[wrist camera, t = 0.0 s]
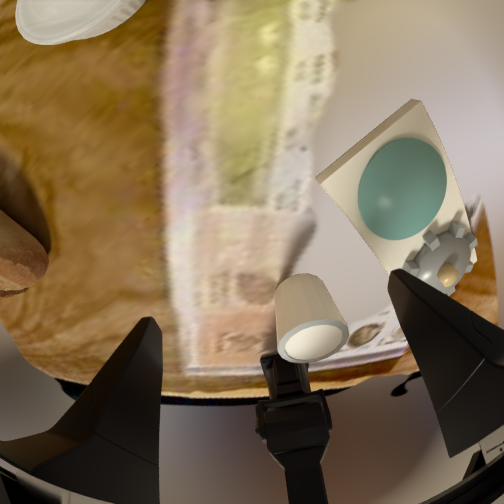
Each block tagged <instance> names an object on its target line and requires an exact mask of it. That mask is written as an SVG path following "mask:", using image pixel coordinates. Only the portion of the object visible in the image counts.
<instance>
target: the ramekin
mask: <svg viewBox="0 0 504 504" xmlns="http://www.w3.org/2000/svg"><path fill="white" fill-rule="evenodd" d="M145 1H146V0H18V1H17V6H16V25H17V27H18V30H19V32H20V33H21V35H22V36H23V37H24V38H25V39H26V40H28V41H30V42H32V43H35V44H42V45H54V44H60V43H65V42H68V41H71V40H79V39H87V38H90V37H95V36H97V35H101V34H103V33H105V32H108V31H110V30H112V29H114V28H116V27H117V26H118V25H120V24H122V23H123V22H125V21H126V20H127V19H128V18H130V17H131V16H132V15H133V14H134V13H135V12H136V11H137V10H138V9H139V8H140V7H141V6H142V5H143V4H144V2H145Z"/></svg>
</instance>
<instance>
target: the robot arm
mask: <svg viewBox="0 0 504 504" xmlns="http://www.w3.org/2000/svg"><path fill="white" fill-rule="evenodd" d="M388 293H389V295H390V298H391V301H392V304H393V306H394V309H395V312H396V315H397V318H398V321H399V323H400V326H401V328H402V331H403V333H404V335H405V337H406V339H407V341H408V344H409V346H410V348H411V351H412V353H413V355H414V358H415V360H416V362H417V365H418V367H419V370H420V372H421V374H422V377H423V380H424V382H425V385H426V387H427V390H428V393H429V395H430V398H431V400H432V403H433V406H434V409H435V412H436V415H437V418H438V421H439V425H440V427H441V431H442V434H443V437H444V441H445V444H446V448H447V451H448V455H449V457H450V458H452V457H454V456H455V455H457V454H459V453H461V452H463V451H464V450H466V449H468V448H470V447H471V446H473V445H475V444H476V443H478V442H479V445H480V448H481V449H480V450H478V451H477V452H476V453H474V454H473V456H472V458H471V461H470V464H469V466H468V468H467V470H466V473H465V475H464V477H463V479H462V481H461V482H459V483H457V484H456V485H454V486H452V487H450V488H449V489H447V490H445V491H443V492H442V493H440V494H438V495H436V496H434V497H432V498H430V499H428V500H426V501H424V502H422V503H420V504H504V330H503V329H501V328H500V327H498V326H496V325H494V324H492V323H491V322H489V321H487V320H486V319H484V318H482V317H481V316H479V315H478V314H476V313H474V312H473V311H471V310H469V309H468V308H467V307H465V306H463V305H462V304H460V303H459V302H457V301H455V300H454V299H452V298H451V297H449V296H447V295H446V294H444V293H442V292H441V291H439V290H437V289H436V288H434V287H432V286H431V285H429V284H427V283H426V282H424V281H422V280H421V279H419V278H417V277H415V276H414V275H412V274H410V273H408V272H407V271H405V270H403V269H401V268H399V269H395V270H392V271H391V272H390V276H389V282H388ZM260 363H261V366H262V369H263V372H264V375H265V378H266V381H267V382H268V390H269V398H270V400H264V401H262V400H260V401H258V405H257V406H255V407H256V430H255V431H256V434H258V435H259V436H260V438H261V439H262V441H263V443H267V448H268V450H269V452H270V454H271V455H272V457H273V459H274V460H275V461H276V462H277V463H278V464H279V465H280V466H281V467H282V468H283V469H284V470H285V477H286V485H287V492H288V500H289V504H328V500H327V494H326V489H325V484H324V479H323V473H322V468H321V462H322V460H323V458H324V455H325V453H326V450H327V448H328V443H329V438H330V436H329V431H332V421H331V415H330V411H329V408H328V405H327V402H326V399H325V395H324V392H323V389H319V390H317V391H313V392H311V388H310V384H309V380H308V375H307V373H308V363H294V362H289V361H287V360H285V359H283V358H282V357H281V356H280V355H276V356H270V357H264V358H261V359H260ZM162 376H163V352H162V331H161V329H160V328H159V326H158V324H157V323H156V321H155V319H154V318H153V317H151V316H150V317H143V318H141V319H140V321H139V322H138V323H137V324H136V325H135V327H134V328H133V329H132V330H131V332H130V333H129V334H128V335H127V337H126V338H125V339H124V340H123V341H122V343H121V344H120V345H119V346H118V348H117V349H116V350H115V352H114V353H113V354H112V355H111V357H110V358H109V359H108V360H107V362H106V363H105V364H104V366H103V367H102V368H101V369H100V371H99V372H98V373H97V375H96V376H95V377H94V378H93V380H92V382H90V384H89V385H88V386H87V388H86V389H85V390H84V391H83V393H82V394H81V395H80V397H79V398H78V399H77V400H76V401H75V403H74V404H73V405H72V406H71V407H70V408H69V409H68V410H67V412H66V413H65V414H64V415H63V416H62V417H61V418H60V420H59V421H58V422H57V423H56V424H55V425H54V426H53V427H52V428H51V429H49V430H47V431H45V432H42V433H39V434H35V435H32V436H28V437H23V438H19V439H15V440H11V441H0V458H1V459H3V460H4V461H6V462H8V463H9V464H11V465H13V466H14V467H16V468H17V472H16V474H14V473H12V472H10V471H8V470H6V469H5V468H3V467H1V466H0V504H160V500H159V466H158V465H159V426H160V425H159V424H160V405H161V389H162Z"/></svg>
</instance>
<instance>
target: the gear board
mask: <svg viewBox="0 0 504 504" xmlns="http://www.w3.org/2000/svg"><path fill="white" fill-rule="evenodd" d="M315 179H316V180H317V181H318V182H319V184H320V185H321V186H322V187H323V188H324V190H325V191H326V192H327V193H328V194H329V195H330V197H331V198H332V199H333V200H334V202H335V203H336V204H337V205H338V207H339V208H340V209H341V210H342V212H343V213H344V214H345V215H346V217H347V218H348V219H349V221H350V222H351V223H352V224H353V226H354V227H355V228H356V230H357V231H358V232H359V234H360V235H361V236H362V238H363V239H364V241H365V242H366V243H367V244H368V246H369V247H370V249H371V250H372V252H373V253H374V254H375V256H376V257H377V258H378V260H379V261H380V263H381V264H382V266H383V267H384V269H385V270H386V272H387V273H388V274H389V276H390V272H391V271H392V270H395V269H399V268H401V269H403V270H405V271H407V272H408V273H410V274H412V275H414V276H415V277H417V278H419V279H421V280H422V281H424V282H426V283H427V284H429V285H431V286H432V287H434V288H436V289H437V290H439V291H441V292H442V293H444V294H445V293H447V294H448V296H450V295H451V294H452V293H453V292H455V287H454V286H455V285H456V284H457V283H458V281H459V280H460V279H461V278H462V276H463V275H464V273H465V272H470V271H471V269H472V267H473V265H474V263H475V262H476V261H477V258H476V252H475V246H476V245H477V239H476V237H475V236H473V235H472V234H471V229H470V225H469V221H468V217H467V214H466V210H465V207H464V203H463V200H462V197H461V193H460V190H459V187H458V184H457V181H456V178H455V176H454V173H453V170H452V167H451V165H450V162H449V160H448V157H447V155H446V152H445V150H444V147H443V145H442V143H441V140H440V138H439V136H438V134H437V131H436V129H435V127H434V125H433V123H432V121H431V119H430V117H429V115H428V113H427V111H426V109H425V107H424V105H423V103H422V102H421V101H418V100H414V99H411V100H410V101H408V102H407V103H406V104H405V105H403V106H402V107H401V108H400V109H398V110H397V111H396V112H395V113H394V114H392V115H391V116H390V117H389V118H387V119H386V120H385V121H384V122H383V123H381V124H380V125H379V126H377V127H376V128H375V129H374V130H373V131H371V132H370V133H369V134H368V135H366V136H365V137H364V138H363V139H361V140H360V141H359V142H358V143H357V144H355V145H354V146H353V147H352V148H350V149H349V150H348V151H347V152H346V153H344V154H343V155H342V156H341V157H340V158H338V159H337V160H336V161H335V162H334V163H332V164H331V165H330V166H329V167H328V168H326V169H325V170H324V171H323V172H321V173H320V174H319V175H318V176H317V177H315Z"/></svg>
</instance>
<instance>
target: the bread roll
mask: <svg viewBox="0 0 504 504" xmlns="http://www.w3.org/2000/svg"><path fill="white" fill-rule="evenodd" d="M48 262H49V259H48V254H47V253H46V251H45V249H44V247H43V246H42V245H41V244H40V243H39V241H38V240H37V239H36V238H35V237H34V236H32V235H31V234H30V233H29V232H27V231H26V230H25V229H24V228H22V227H21V226H20V225H19V224H17V223H16V222H15V221H14V220H12V219H11V218H10V217H9V216H7V215H6V214H5V213H4V212H3V211H2V210H0V298H7V297H11V296H14V295H16V294H20V293H23V292H26V291H27V290H28V289H29V288H31V287H32V285H33V284H34V283H36V282H37V281H38V280H40V279H41V278H42V277H43V276H44V274H45V272H46V270H47V267H48Z"/></svg>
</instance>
